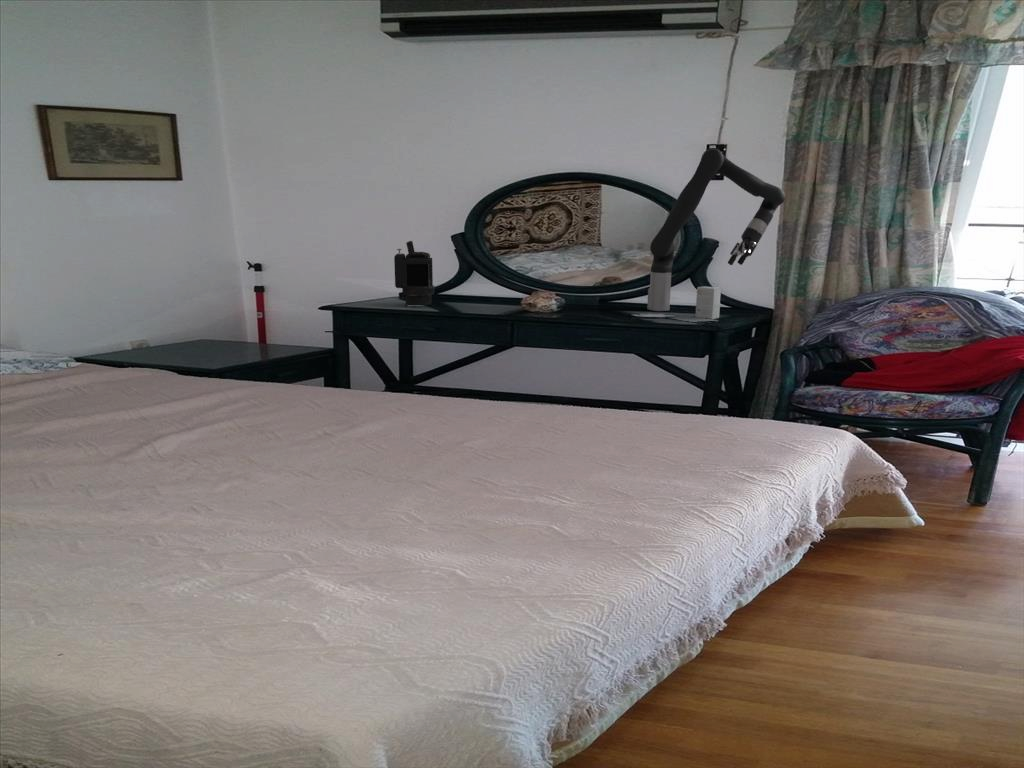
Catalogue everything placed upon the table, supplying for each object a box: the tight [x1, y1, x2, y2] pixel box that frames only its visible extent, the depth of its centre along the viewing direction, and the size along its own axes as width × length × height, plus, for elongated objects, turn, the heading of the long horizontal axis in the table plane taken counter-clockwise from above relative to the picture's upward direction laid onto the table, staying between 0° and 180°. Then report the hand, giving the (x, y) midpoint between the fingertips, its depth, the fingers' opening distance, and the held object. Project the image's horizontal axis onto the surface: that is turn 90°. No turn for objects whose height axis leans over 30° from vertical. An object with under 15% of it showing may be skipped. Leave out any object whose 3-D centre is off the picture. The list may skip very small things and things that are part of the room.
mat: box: [675, 315, 719, 323], centre depth 311 cm, size 18×12×1 cm
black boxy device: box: [393, 240, 435, 305], centre depth 349 cm, size 15×18×30 cm
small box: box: [694, 286, 722, 320], centre depth 316 cm, size 8×6×13 cm
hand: (734, 264), depth 317 cm, fingers open, 8 cm apart
